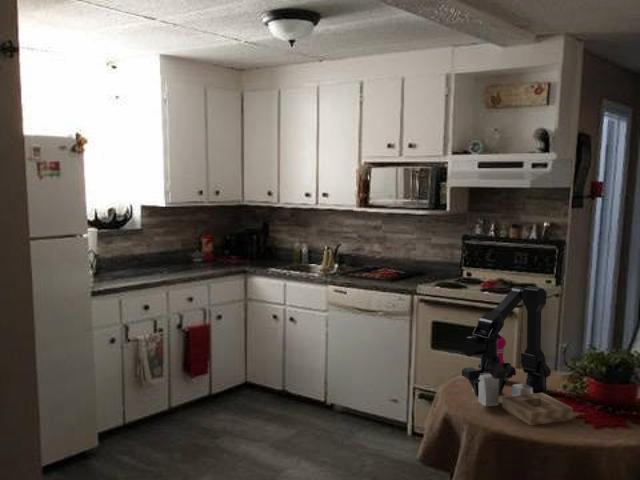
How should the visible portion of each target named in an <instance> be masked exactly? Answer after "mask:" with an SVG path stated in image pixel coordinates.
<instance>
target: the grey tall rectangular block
mask: <svg viewBox="0 0 640 480" xmlns="http://www.w3.org/2000/svg"><path fill="white" fill-rule="evenodd" d="M478 379H479V380H480V382H479V395H478V397H477V398H478V403H480V404H481V405H483V406H485V407H492V406H493V407H494V406H499V395H500V394H499V378H498V379H494V378H493V377H492V375H491V374H486V375H480V377H479V378H478Z"/></svg>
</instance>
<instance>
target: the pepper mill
mask: <svg viewBox="0 0 640 480" xmlns="http://www.w3.org/2000/svg"><path fill="white" fill-rule="evenodd" d="M500 332H501V331H500ZM500 332H499V333H498V334H499V335H500V336H501V337H502V339H498V343H497V356H499V358H500V363H505V360H504V353H505V347H506V344H507V340H506V339H505V337H503V336H502V335H501V333H500Z"/></svg>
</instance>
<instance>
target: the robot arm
mask: <svg viewBox="0 0 640 480" xmlns="http://www.w3.org/2000/svg"><path fill="white" fill-rule="evenodd" d="M547 297H548V294H547V291H546V290H545V288H542V287H536V286H531V285H530V286H529V285H528V286H525V287H521V286H513V287H512V288H511V290H510V292H509V293H508V294H507V295H506V296H505V297H504V298H503V299H502V301H500V303H498V305H497V306H496V307H495V308H494V309H493V310H492V311H489V312H486V313H484V315H481V317H479V319H478V322H477V323H476V326H475V327H474V330H473V331H472V333H471V336H467V337H466V340H465V341H463V344H462V351H463V354H465V356H467V357H474V356H478V357H479V358H480V364H478V368H479V369H476V368H474V367H473V366H471V367H464V368H462V369H461V376H462V377H464V378H465V379H467V380H468V381H469V384H470V385H471V386H470V387H471V389H472V391H473V390H474V394H475V397H477V398H478V397H479V382H480V380H479V377H480V375H486V374H491V375H492V377H493V378H494V379H498V378H499V395H502V393H503V390H504V388H505V385H506V383H507V381H508V380H510V379H511V378H512V379H513V376H516V374H517V371H516V367H514V365H512V364H511V363H510V362H504V363H500V358H499V356H497V343H498V339H502V337H503V336H502V335H501V334H500V335H499V334H498V333H499V332H501V331H502V328H503V327H504V326H505V320H506V319H507V317H509V315H510V314H511V313H512V312H513V311H514V310H515V308H517V306H518V305H519V304H520V303H521V301H522V304H523V305H524V307H525V310H526V315H527V316H526V348H525V349H524V351H523V352H521V353H520V362H519V363H520V364H521V368H522V370H523V373H525V374H527V377H526V379H525V380H526V381H525V384H526V385H528V386H530V387H532V388H533V394H535V393H548V392H549V391H550V390H549V389H547V378H549V377H550V376H551V373H552V370H551V368H550V367H549V366H548V364H547V362H546V356H545V353H544V352H543V350H542V349H541V348H542V347H541V346H542V311H543V309H544V308H545V306H546V304H547ZM501 336H502V337H501Z"/></svg>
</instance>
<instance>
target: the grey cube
mask: <svg viewBox="0 0 640 480" xmlns="http://www.w3.org/2000/svg"><path fill="white" fill-rule="evenodd" d="M511 390H512V392H511V393H512V396H518V395H527V394H534V393H533V388H532V387H530V386H528V385H526V383H517V384H516V383H515V384H512V389H511Z"/></svg>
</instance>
